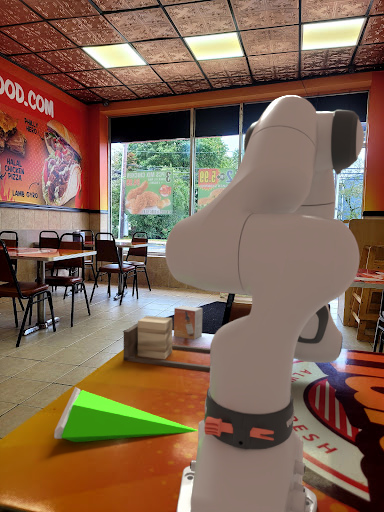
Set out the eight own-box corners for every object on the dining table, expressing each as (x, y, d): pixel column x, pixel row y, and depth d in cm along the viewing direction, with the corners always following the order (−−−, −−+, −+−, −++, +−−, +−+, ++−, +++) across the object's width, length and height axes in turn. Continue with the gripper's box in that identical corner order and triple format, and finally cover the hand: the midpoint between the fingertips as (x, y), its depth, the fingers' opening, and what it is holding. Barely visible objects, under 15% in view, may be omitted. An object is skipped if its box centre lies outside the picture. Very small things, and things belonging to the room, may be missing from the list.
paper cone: (198, 422, 72) (75, 402, 71) (203, 401, 70) (76, 381, 69) (197, 474, 62) (52, 452, 61) (203, 451, 60) (53, 429, 59)
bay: (210, 375, 90) (210, 340, 89) (123, 364, 97) (123, 331, 96) (221, 356, 103) (221, 326, 103) (144, 347, 110) (144, 318, 109)
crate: (164, 359, 97) (165, 323, 97) (137, 356, 100) (137, 320, 99) (172, 352, 103) (172, 318, 102) (146, 349, 105) (146, 315, 105)
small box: (173, 339, 119) (173, 307, 118) (181, 334, 124) (181, 304, 123) (194, 343, 115) (195, 310, 114) (202, 338, 120) (202, 307, 119)
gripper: (274, 318, 100) (226, 314, 104) (270, 338, 81) (210, 332, 84) (274, 340, 101) (225, 335, 104) (269, 365, 81) (209, 358, 85)
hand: (218, 334), depth 94 cm, fingers closed
